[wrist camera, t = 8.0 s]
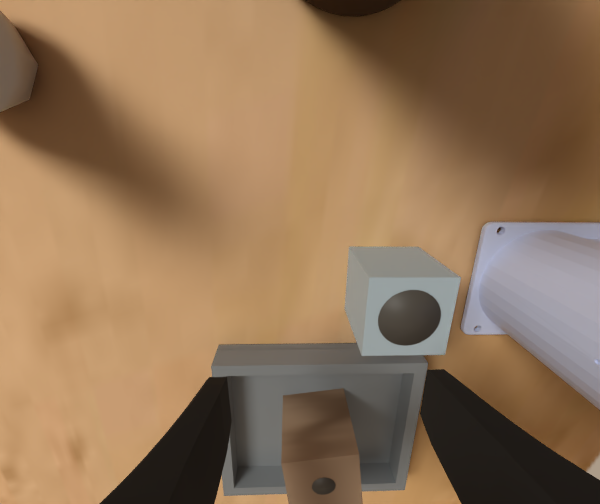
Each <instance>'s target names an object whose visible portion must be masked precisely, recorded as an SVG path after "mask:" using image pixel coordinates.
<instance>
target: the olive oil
mask: <svg viewBox="0 0 600 504" xmlns="http://www.w3.org/2000/svg"><path fill="white" fill-rule="evenodd" d="M306 1H307V2H309V3H310V4H312V5H314V6H316V7H318V8H320V9H322V10H324V11H327V12H330V13H333V14H338V15H344V16H362V15H368V14H372V13H376V12H379V11H382V10H384V9H386V8H388V7H390V6H392V5H394V4H396V3H397V2H399V1H400V0H306Z"/></svg>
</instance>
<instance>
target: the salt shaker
mask: <svg viewBox="0 0 600 504" xmlns="http://www.w3.org/2000/svg"><path fill="white" fill-rule="evenodd" d="M37 69H38V64H37V62H36V61H35V59H34V57H33V56H32V54H31V52H30V51H29V49H28V47H27V46H26V44H25V42H24V41H23V39H22V38H21V36H20V34H19V33H18V31H17V29H16V28H15V26H14V25H13V24H12V23H11V22H10V21H9V20H8V18H7V17H6V16H5V15H4V14H3V13H2V12H1V11H0V112H2V111H4V110H6V109H9V108H11V107H13V106H16V105H18V104H20V103H23V102H25V101H27V100H30V96H31V92H32V88H33V84H34V80H35V76H36V73H37Z"/></svg>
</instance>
